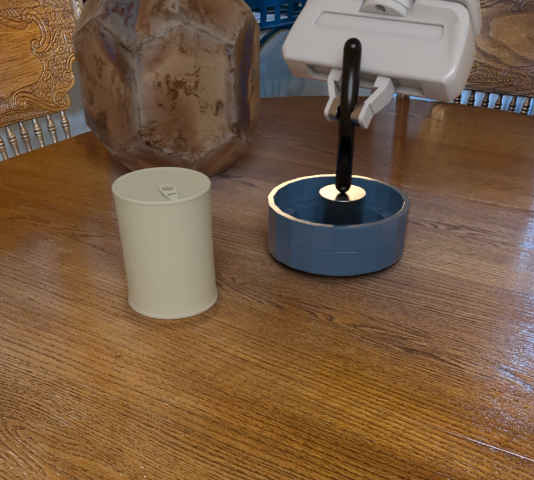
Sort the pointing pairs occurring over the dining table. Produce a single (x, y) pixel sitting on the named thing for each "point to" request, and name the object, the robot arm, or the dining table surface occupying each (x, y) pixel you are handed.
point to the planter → (170, 80)
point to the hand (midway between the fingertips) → (344, 122)
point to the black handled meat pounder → (345, 150)
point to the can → (167, 241)
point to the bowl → (336, 228)
